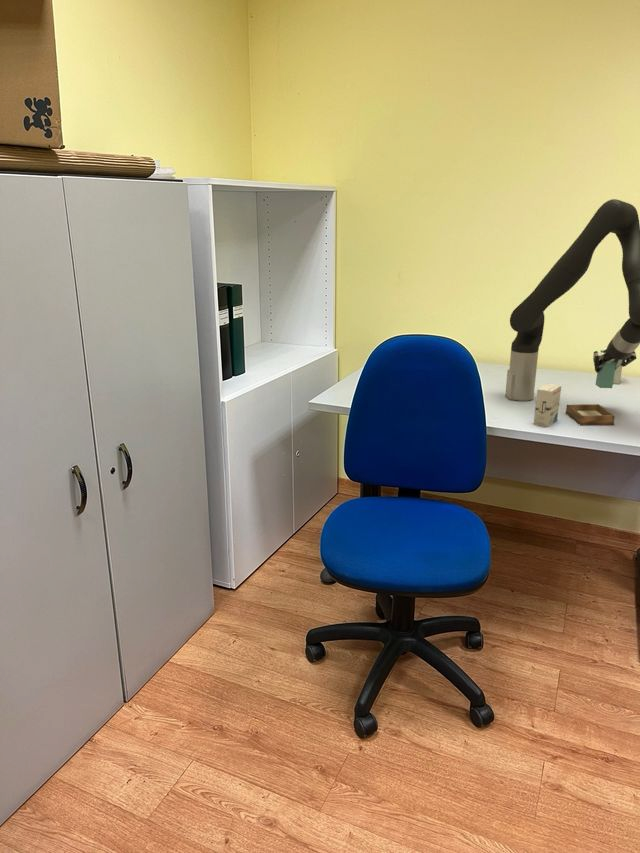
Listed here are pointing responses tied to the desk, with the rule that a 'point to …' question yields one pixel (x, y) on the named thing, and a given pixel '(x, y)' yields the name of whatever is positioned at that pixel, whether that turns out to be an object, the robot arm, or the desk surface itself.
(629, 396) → the desk surface
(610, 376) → the teal block
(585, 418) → the tray
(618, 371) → the small box
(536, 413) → the ink box
